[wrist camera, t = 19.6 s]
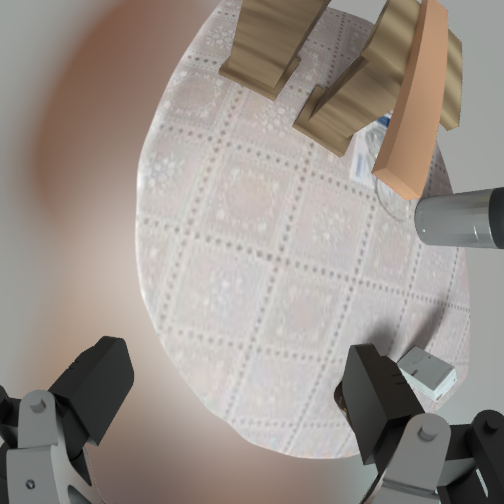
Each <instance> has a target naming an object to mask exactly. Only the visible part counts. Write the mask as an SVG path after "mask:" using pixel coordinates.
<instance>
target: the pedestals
mask: <svg viewBox="0 0 504 504" xmlns="http://www.w3.org/2000/svg"><path fill="white" fill-rule="evenodd" d="M330 1H331V0H243V3H242V7H241V11H240V15H239V19H238V24H237V28H236V32H235V37H234V41H233V46H232V51H231V55H230V57H229V58H228V59H227V60H226V61H225V62H224V64H223V65H222V66H221V67H220V69H219V74H220V75H222V76H224V77H227V78H229V79H231V80H233V81H235V82H237V83H239V84H241V85H243V86H245V87H247V88H249V89H251V90H253V91H255V92H257V93H259V94H261V95H263V96H265V97H267V98H269V99H271V100H272V101H274V100H275V99H276V97H277V96H278V94H279V93H280V91H281V90H282V88H283V87H284V85H285V84H286V82H287V80H288V79H289V77H290V76H291V74H292V73H293V72H294V70H295V69H296V67H297V66H298V64H299V63H300V61H301V59H299V58H298V57H296V56H297V54H298V52H299V51H300V49H301V47H302V46H303V44H304V42H305V41H306V39H307V37H308V36H309V34H310V33H311V31H312V29H313V28H314V26H315V25H316V23H317V21H318V20H319V18H320V17H321V15H322V14H323V12H324V10H325V9H326V7H327V6H328V4H329V3H330ZM420 8H421V4H420V3H419V2H418V1H416V0H387V1H386V3H385V5H384V7H383V9H382V11H381V13H380V15H379V17H378V20H377V22H376V24H375V26H374V28H373V30H372V32H371V34H370V36H369V38H368V40H367V42H366V44H365V46H364V48H363V50H362V52H361V54H360V56H359V57H358V58H357V59H356V60H355V61H354V62H353V63H352V65H351V66H350V67H349V68H348V69H347V70H346V71H345V72H344V73H343V74H342V75H341V76H340V77H339V78H338V79H337V80H336V81H335V82H334V83H333V84H332V85H331V86H330V88H329V89H328V90H327V91H325V90H324V89H322V88H321V87H319V86H316V87H315V88H314V90H313V92H312V93H311V95H310V97H309V98H308V100H307V102H306V104H305V105H304V107H303V109H302V111H301V112H300V114H299V116H298V118H297V119H296V121H295V123H294V125H293V128H295V129H297V130H298V131H300V132H302V133H303V134H305V135H306V136H308V137H310V138H311V139H313V140H314V141H316V142H317V143H319V144H321V145H322V146H324V147H325V148H327V149H328V150H330V151H331V152H333V153H334V154H336V155H337V156H339V157H342V156H343V155H345V152H346V150H347V148H348V146H349V143H350V141H351V139H352V136H353V134H354V133H356V132H357V131H359V130H360V129H362V128H364V127H365V126H367V125H368V124H370V123H372V122H373V121H375V120H376V119H378V118H380V117H381V116H383V115H385V114H386V113H388V112H390V111H391V110H393V109H394V108H395V105H396V101H397V98H398V95H399V92H400V88H401V85H402V82H403V78H404V75H405V71H406V68H407V64H408V60H409V56H410V52H411V48H412V44H413V40H414V36H415V32H416V27H417V23H418V18H419V13H420ZM461 96H462V42H461V41H460V40H459V39H458V38H457V37H456V36H455V35H454V34H453V33H452V32H451V31H450V30H449V29H448V51H447V67H446V78H445V87H444V95H443V102H442V109H441V115H440V121H439V122H440V124H442V126H443V127H444V128H445V129H446V130H447V131H448V130H451V129H453V128H456V127H459V120H460V110H461Z"/></svg>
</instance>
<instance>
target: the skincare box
mask: <svg viewBox="0 0 504 504" xmlns="http://www.w3.org/2000/svg"><path fill="white" fill-rule="evenodd" d="M397 365H398V367H399V369H400V370H401V372H402V375H404V377H405V379H406V380H407V382H409V383H410V384H412V385H413V386H414V387H416V388H417V389H418V390H420V391H421V392H423V393H424V394H425V395H427V396H428V397H430V398H431V399H432V400H434V401H435V402H437V401H438V400H439V399H440V398H441V397H442V396H443V395H444V394H445V393H446V392H447V391H448V390H449V389H450V388H451V386H452V385H453V384H454V383H455V382H456V381H457V376H456V371H455V367H454V366H452V365H450V364H448V363H446V362H444V361H442V360H441V359H439V358H437V357H435V356H433V355H431V354H429V353H428V352H426V351H424V350H422V349H420V348H418V347H417V346H415V347H413V348H412V349H411V350H410V351H409V352H408V353H407V354H406V355H405V356H404V357H403V358H402V359H401V360H400V361H399V362H398V363H397Z"/></svg>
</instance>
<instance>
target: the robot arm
mask: <svg viewBox="0 0 504 504" xmlns="http://www.w3.org/2000/svg"><path fill="white" fill-rule="evenodd" d="M415 226H416V230H417V233H418V235H419V237H420V239H421V240H422V241H423V242H424V243H425V244H427V245H437V246H455V247H475V248H494V249H504V187H501V188H493V189H485V190H479V191H472V192H464V193H456V194H449V195H442V196H435V197H428V198H424V199H423V200H421V201H420V202H419V204H418V206H417V209H416V213H415ZM133 382H134V370H133V367H132V364H131V360H130V357H129V353H128V349H127V346H126V343H125V341H124V339H122V338H116V337H110V336H103V337H102V338H101V339H100V340H99V341H98V342H97V343H96V344H95V346H94V347H93V346H92V347H91V348H89V349H87V350H86V351H84V352H82V353H81V354H80V355H79V356H78V357H77V358H76V359H75V362H73V363H72V364H71V365H70V366H69V369H66V370H65V371H64V373H63V374H62V375H61V376H60V377H59V378H58V379H57V381H56V382H55V383H54V384H53V385H52V386H51V387H50V388H49V390H48V391H46V390H35V391H32V392H30V393H28V394H27V395H25V396H24V397H23V399H15V398H9V397H8V395H7V393H6V391H5V389H4V388H3V387H2V386H1V385H0V436H1V437H2V439H3V440H4V443H3V444H2V446H1V447H0V504H106V502H105V501H104V499H103V498H102V496H101V495H100V493H99V490H98V487H97V484H96V481H95V478H94V475H93V471H92V468H91V464H90V461H89V457H88V453H87V450H86V448H85V447H84V444H85V443H86V442H87V443H90V444H92V445H95V446H98V445H99V443H100V442H101V440H102V438H103V436H104V434H105V433H106V431H107V429H108V427H109V426H110V424H111V422H112V420H113V418H114V417H115V415H116V413H117V411H118V410H119V408H120V406H121V404H122V403H123V401H124V399H125V397H126V396H127V394H128V392H129V391H130V389H131V387H132V385H133ZM342 390H343V396H344V399H345V402H346V405H347V409H348V412H349V415H350V419H351V422H352V426H353V429H354V432H355V436H356V439H357V443H358V446H359V450H360V454H361V457H362V461H363V465H368V464H373V463H375V464H376V467H377V471H378V473H377V474H376V476H375V478H374V480H373V482H372V483H371V485H370V487H369V488H368V490H367V492H366V494H365V495H364V497H363V499H362V500H361V501H360V503H359V504H439V501H441V504H504V416H503V415H502V414H501V413H499V412H497V411H494V410H484V411H481V412H480V413H478V414H477V416H476V417H475V418H474V420H473V421H472V423H471V424H462V425H449V424H448V423H447V422H446V420H445V419H443V418H442V417H440V416H438V415H435V414H431V413H425V411H424V409H423V408H422V406H421V404H420V402H419V401H418V399H417V397H416V395H415V394H414V392H413V390H412V389H411V387H410V385H409V384H408V383H407V380H406V379H405V377H404V375H402V372H401V370H400V369H399V367H398V365H397V364H396V363H395V362H394V361H392V360H391V359H390V358H388V357H387V356H380V355H379V353H378V352H377V350H376V348H375V346H374V345H373V344H372V343H370V344H359V345H351V346H350V348H349V352H348V357H347V362H346V367H345V371H344V376H343V381H342ZM477 469H479V471H480V473H481V475H482V478H483V480H484V482H485V484H486V487H487V490H488V497H486V495H485V492H484V489H483V487H482V484H481V482H480V479H479V477H478V475H477V472H476V470H477ZM436 488H437V492H438V494H436V493H435V490H436Z"/></svg>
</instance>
